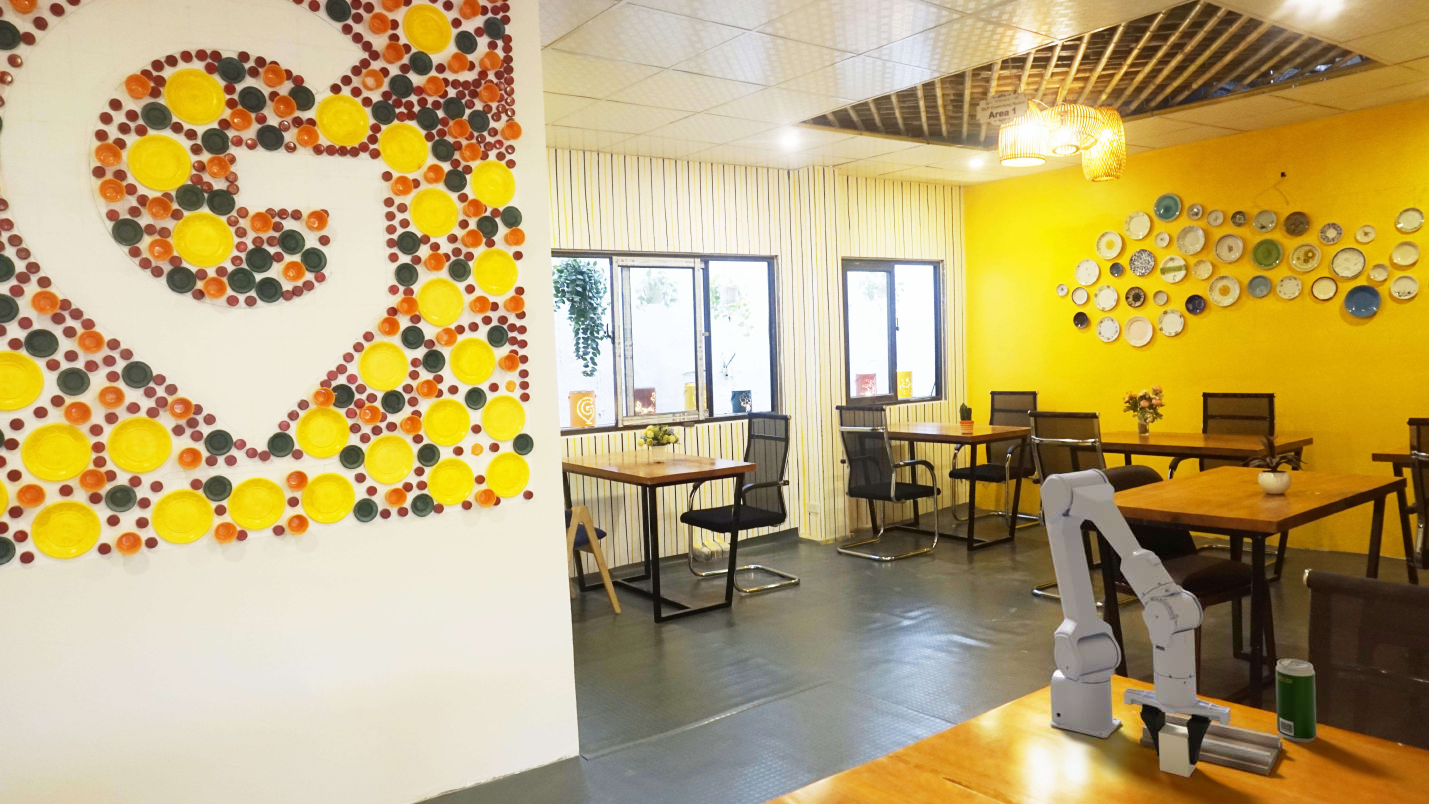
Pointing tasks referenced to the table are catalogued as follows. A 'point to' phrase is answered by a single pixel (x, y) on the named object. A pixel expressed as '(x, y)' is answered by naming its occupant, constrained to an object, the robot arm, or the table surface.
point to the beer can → (1296, 700)
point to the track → (1230, 745)
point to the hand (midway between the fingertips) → (1177, 758)
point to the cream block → (1175, 750)
